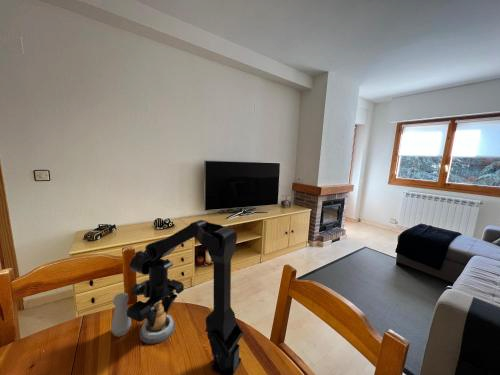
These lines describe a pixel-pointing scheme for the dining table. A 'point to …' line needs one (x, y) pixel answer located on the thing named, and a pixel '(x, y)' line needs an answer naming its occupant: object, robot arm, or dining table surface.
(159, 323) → the beige tiered cylinder
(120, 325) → the salt shaker
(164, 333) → the grey shallow dish
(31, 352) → the dining table surface
